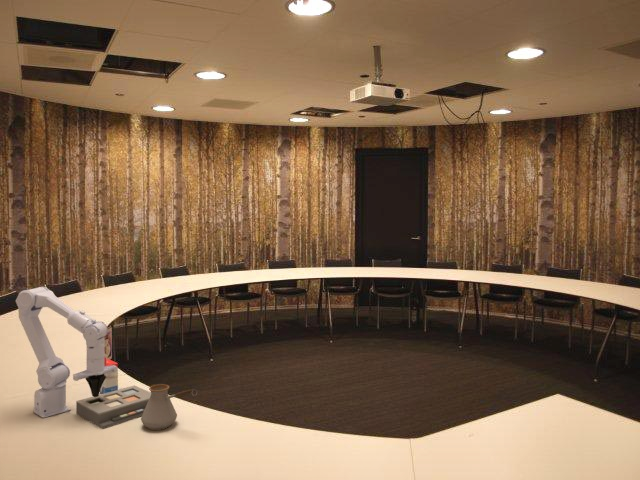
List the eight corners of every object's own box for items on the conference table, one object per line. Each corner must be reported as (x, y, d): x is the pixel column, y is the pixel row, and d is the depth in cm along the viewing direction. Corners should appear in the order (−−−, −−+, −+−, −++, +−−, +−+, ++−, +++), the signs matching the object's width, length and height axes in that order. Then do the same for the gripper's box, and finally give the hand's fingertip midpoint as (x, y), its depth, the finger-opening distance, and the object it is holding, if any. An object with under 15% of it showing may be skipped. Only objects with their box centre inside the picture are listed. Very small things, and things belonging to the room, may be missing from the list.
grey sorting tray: (102, 428, 165) (102, 415, 165) (76, 413, 177) (76, 401, 177) (162, 409, 182) (162, 397, 182) (134, 396, 194) (134, 385, 194)
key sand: (110, 404, 179) (110, 400, 179) (104, 401, 182) (104, 397, 182) (122, 401, 183) (122, 397, 183) (116, 398, 186) (116, 394, 186)
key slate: (127, 399, 184) (127, 395, 184) (121, 396, 187) (121, 392, 187) (138, 396, 188) (138, 392, 188) (132, 393, 191) (132, 389, 191)
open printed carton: (102, 365, 232) (102, 333, 231) (86, 365, 232) (86, 332, 231) (113, 358, 244) (113, 327, 243) (98, 357, 244) (98, 326, 243)
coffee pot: (133, 427, 167) (133, 382, 166) (159, 415, 177) (159, 373, 176) (182, 442, 157) (182, 395, 156) (207, 429, 167) (207, 384, 166)
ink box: (118, 392, 198) (118, 355, 197) (105, 395, 195) (105, 358, 194) (108, 387, 204) (108, 351, 203) (96, 390, 200) (96, 353, 200)
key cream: (111, 412, 173) (111, 408, 173) (104, 408, 176) (104, 404, 176) (123, 408, 176) (123, 404, 176) (116, 405, 179) (116, 401, 179)
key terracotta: (128, 407, 178) (128, 402, 178) (122, 403, 181) (122, 399, 180) (140, 403, 181) (140, 399, 181) (133, 400, 184) (133, 396, 184)
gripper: (79, 364, 168) (79, 404, 169) (121, 355, 180) (120, 393, 180) (70, 360, 173) (70, 399, 174) (111, 351, 184) (110, 388, 185)
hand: (95, 396), depth 177 cm, fingers closed
